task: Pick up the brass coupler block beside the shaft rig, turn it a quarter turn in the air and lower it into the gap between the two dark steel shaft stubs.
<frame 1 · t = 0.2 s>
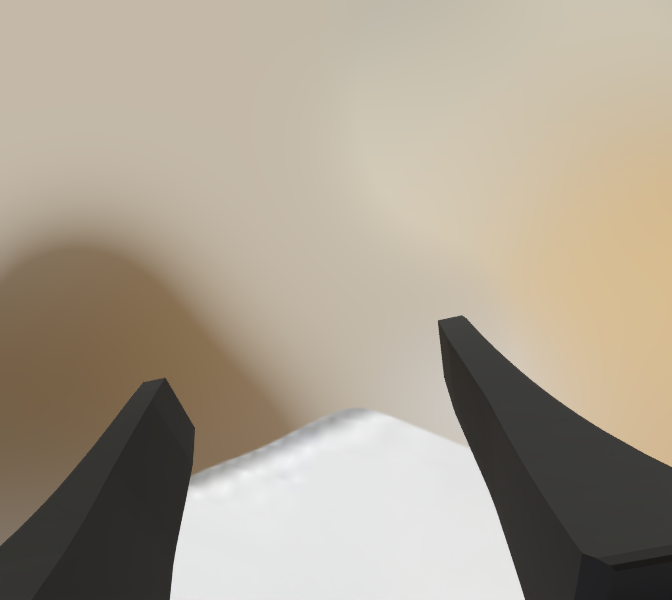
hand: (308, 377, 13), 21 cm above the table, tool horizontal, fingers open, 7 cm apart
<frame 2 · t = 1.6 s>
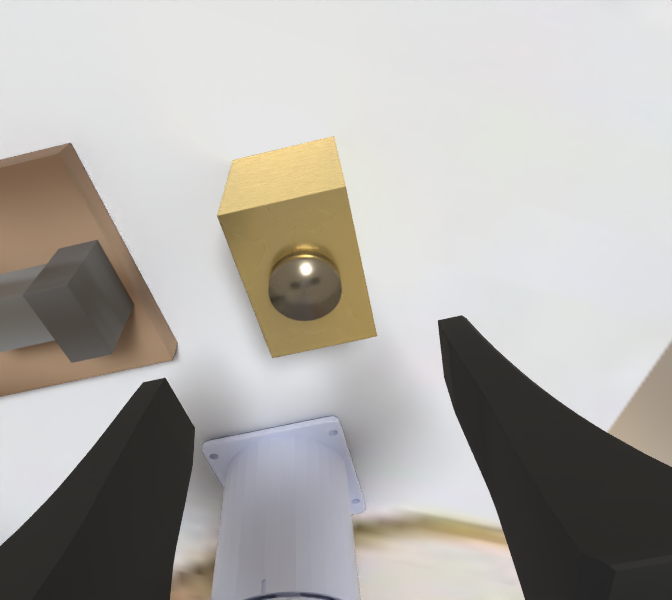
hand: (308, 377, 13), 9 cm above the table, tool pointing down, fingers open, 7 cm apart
coupler: (302, 216, 21), on the table
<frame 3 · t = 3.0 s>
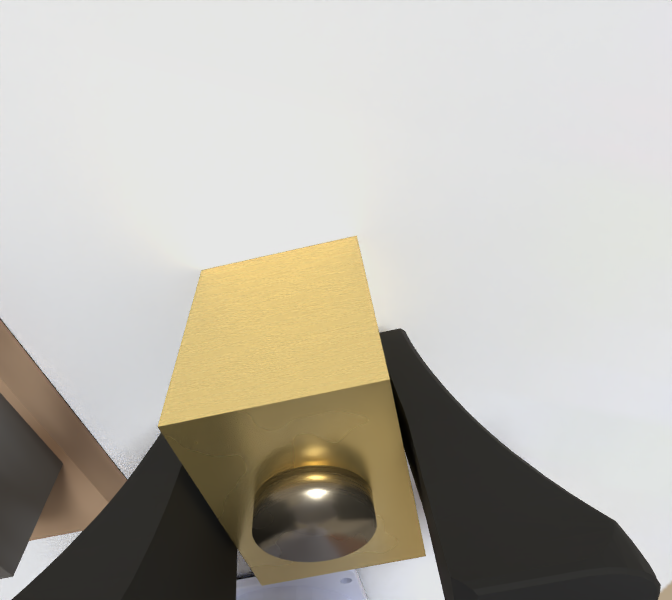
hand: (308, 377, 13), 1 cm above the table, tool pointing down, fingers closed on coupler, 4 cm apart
coupler: (307, 341, 14), on the table, touching gripper
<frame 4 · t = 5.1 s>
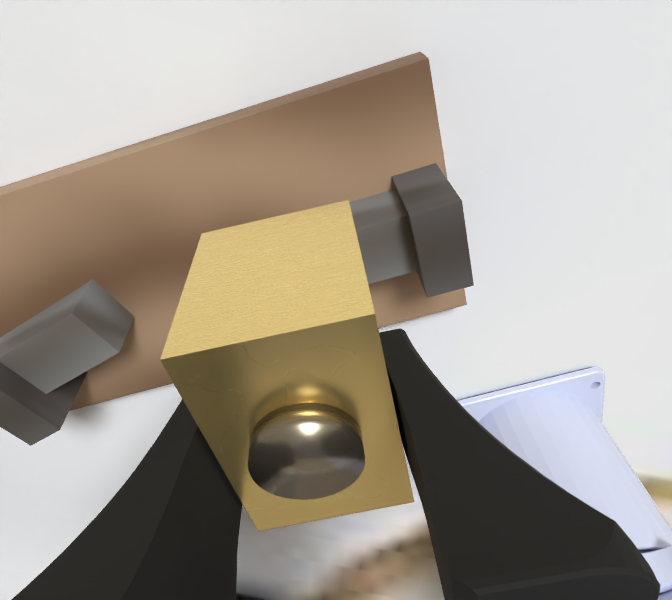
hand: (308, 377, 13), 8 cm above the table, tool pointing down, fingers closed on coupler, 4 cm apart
coupler: (302, 306, 15), point 6 cm above the table, touching gripper
shaft rig: (214, 254, 20), on the table
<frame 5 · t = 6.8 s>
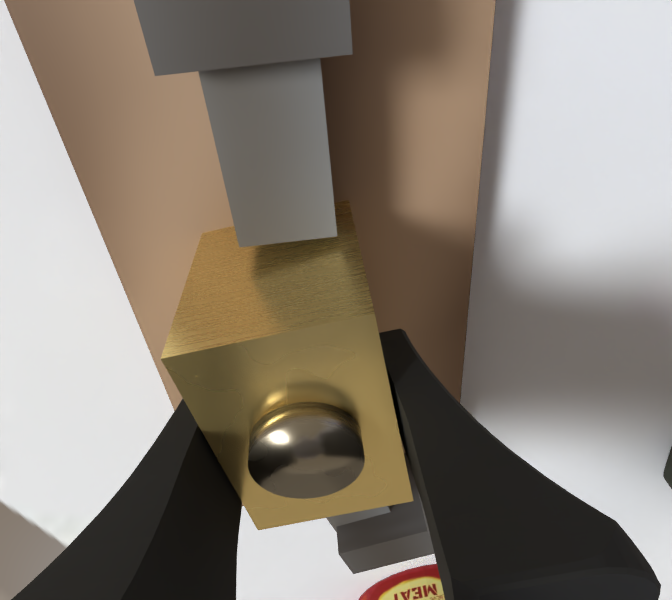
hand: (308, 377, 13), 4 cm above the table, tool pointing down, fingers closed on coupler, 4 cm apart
canned food: (433, 596, 30), on the table
coupler: (302, 305, 15), point 1 cm above the table, touching gripper, shaft rig
shaft rig: (305, 293, 16), on the table
when the fingers open (4 cm above the table, at t = 7.7 s): coupler stays where it is, resting on shaft rig.
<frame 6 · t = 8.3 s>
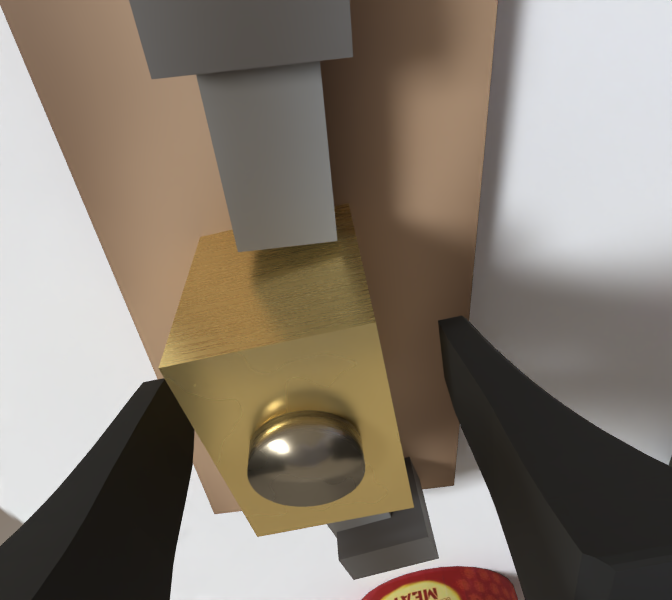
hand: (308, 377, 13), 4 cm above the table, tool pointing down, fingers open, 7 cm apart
coupler: (301, 309, 15), point 1 cm above the table, touching shaft rig
shaft rig: (305, 297, 16), on the table
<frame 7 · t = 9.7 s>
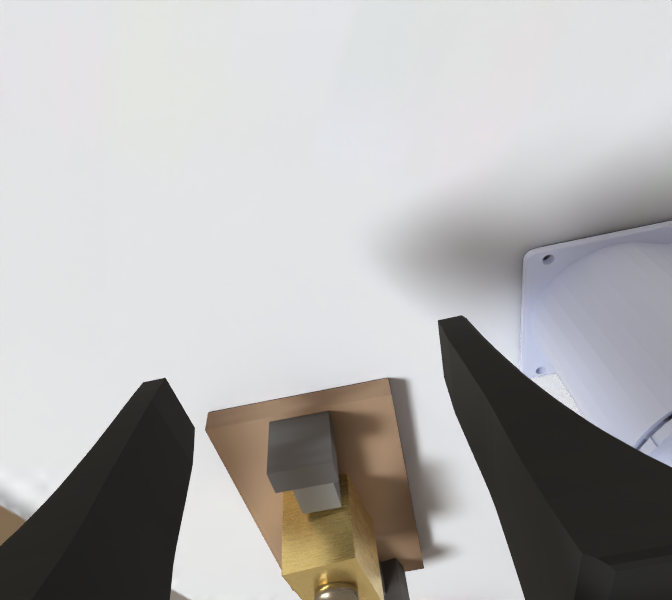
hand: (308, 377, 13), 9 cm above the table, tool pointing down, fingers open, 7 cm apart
coupler: (330, 507, 31), point 1 cm above the table, touching shaft rig
shaft rig: (331, 493, 32), on the table
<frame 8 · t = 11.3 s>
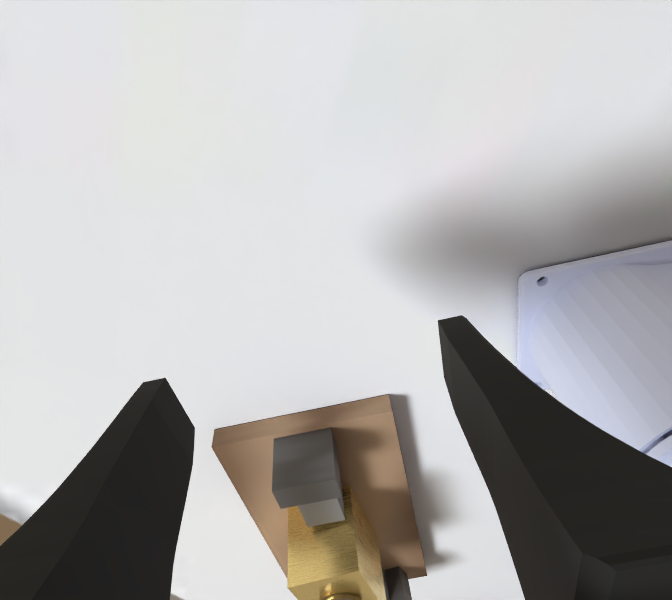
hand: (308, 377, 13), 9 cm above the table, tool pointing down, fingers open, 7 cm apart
coupler: (334, 518, 32), point 1 cm above the table, touching shaft rig
shaft rig: (335, 505, 33), on the table
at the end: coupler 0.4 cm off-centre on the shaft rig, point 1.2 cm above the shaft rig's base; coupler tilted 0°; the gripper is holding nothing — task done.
